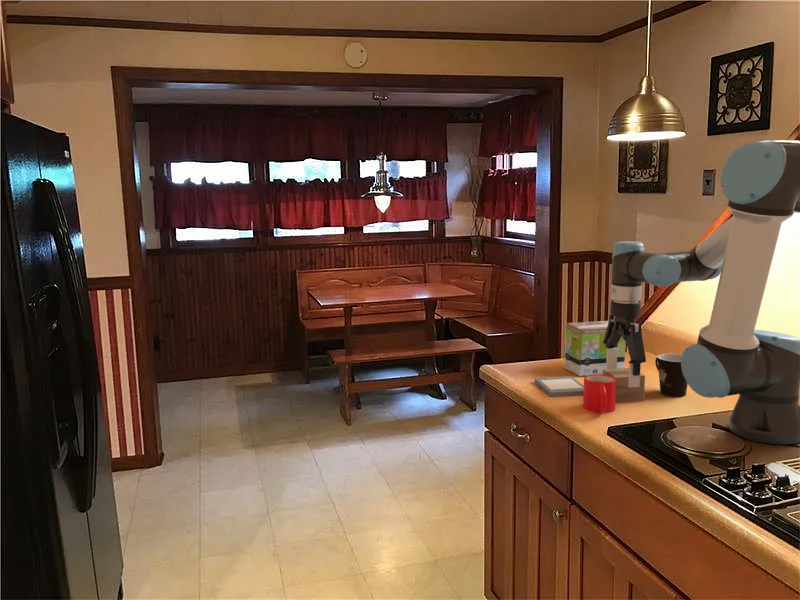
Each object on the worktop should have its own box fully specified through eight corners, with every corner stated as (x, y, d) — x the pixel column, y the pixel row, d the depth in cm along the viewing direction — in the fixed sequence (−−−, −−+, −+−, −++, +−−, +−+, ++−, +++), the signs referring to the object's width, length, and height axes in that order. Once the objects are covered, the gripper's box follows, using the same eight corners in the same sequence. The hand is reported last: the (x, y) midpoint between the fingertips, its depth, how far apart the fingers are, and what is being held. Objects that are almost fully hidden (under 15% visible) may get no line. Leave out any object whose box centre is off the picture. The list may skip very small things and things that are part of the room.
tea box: (580, 377, 196) (581, 328, 194) (564, 369, 206) (565, 322, 204) (625, 373, 200) (627, 325, 197) (607, 365, 210) (609, 319, 207)
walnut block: (644, 401, 174) (645, 375, 173) (614, 403, 173) (615, 377, 172) (630, 392, 182) (630, 367, 180) (602, 394, 181) (602, 369, 180)
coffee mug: (693, 399, 174) (695, 362, 173) (659, 397, 176) (660, 361, 174) (684, 386, 186) (685, 351, 184) (651, 385, 187) (653, 350, 186)
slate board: (589, 394, 180) (589, 390, 180) (550, 396, 179) (550, 392, 179) (570, 380, 194) (571, 375, 194) (534, 382, 193) (534, 378, 193)
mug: (588, 418, 162) (589, 387, 161) (580, 403, 174) (581, 373, 172) (621, 419, 161) (622, 387, 160) (611, 403, 173) (612, 374, 171)
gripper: (592, 293, 185) (590, 366, 189) (633, 310, 160) (629, 394, 164) (618, 292, 185) (615, 365, 189) (663, 309, 161) (658, 393, 165)
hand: (622, 379), depth 177 cm, fingers open, 13 cm apart
